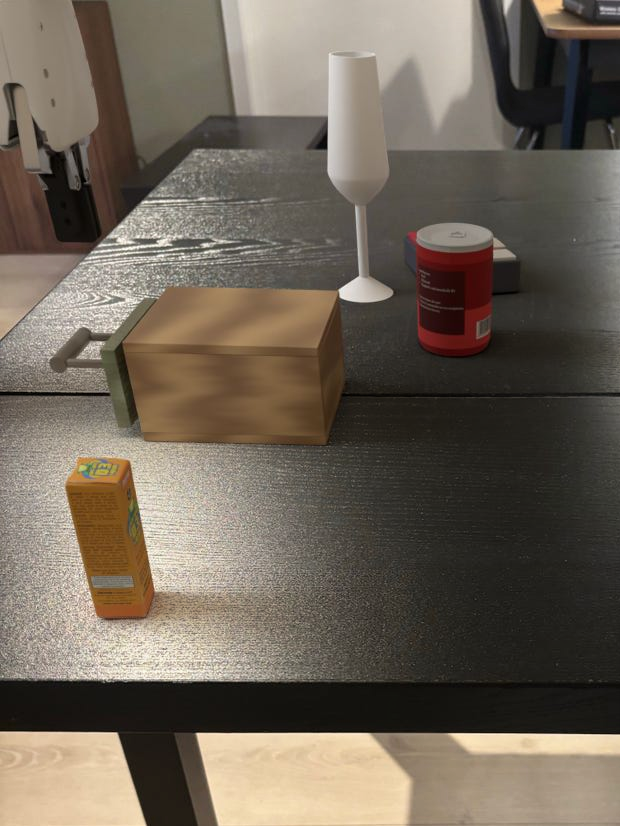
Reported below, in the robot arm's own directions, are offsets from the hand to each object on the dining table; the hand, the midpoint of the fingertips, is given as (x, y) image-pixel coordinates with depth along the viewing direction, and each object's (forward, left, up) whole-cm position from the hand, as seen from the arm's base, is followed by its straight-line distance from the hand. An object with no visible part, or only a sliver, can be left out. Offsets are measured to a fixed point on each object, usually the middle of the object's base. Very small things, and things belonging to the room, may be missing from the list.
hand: (80, 238), depth 76 cm
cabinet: (+12, 0, -15) cm, 19 cm away
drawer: (+6, 0, -14) cm, 15 cm away
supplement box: (+10, -30, -15) cm, 35 cm away
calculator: (+30, +39, -15) cm, 51 cm away
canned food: (+30, +17, -15) cm, 37 cm away
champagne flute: (+19, +32, -15) cm, 40 cm away
